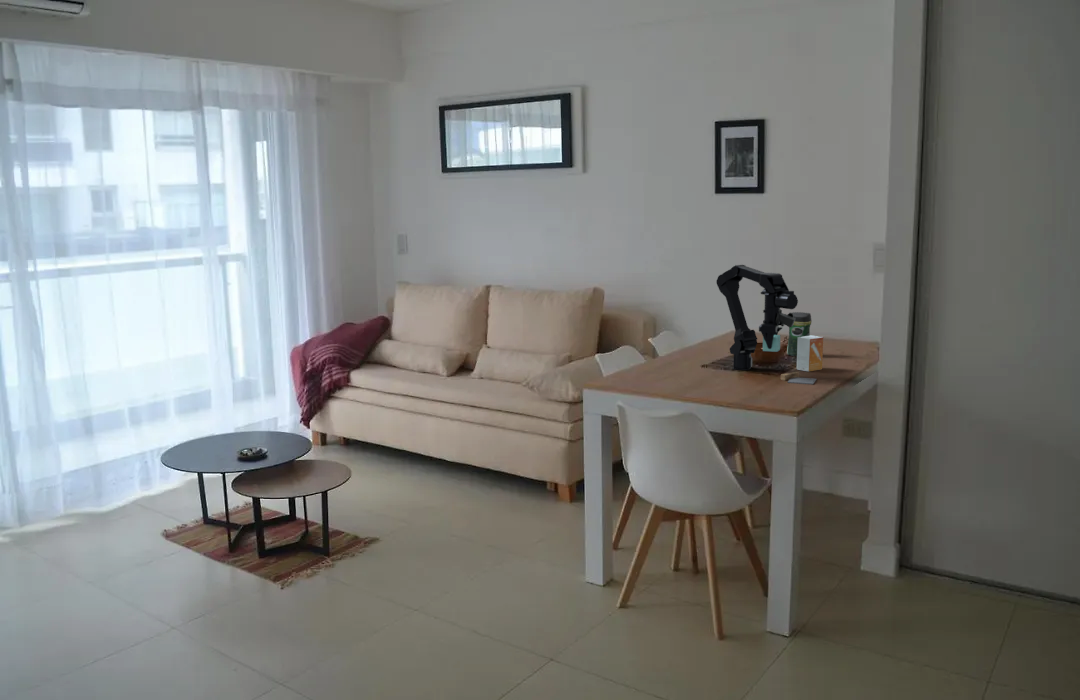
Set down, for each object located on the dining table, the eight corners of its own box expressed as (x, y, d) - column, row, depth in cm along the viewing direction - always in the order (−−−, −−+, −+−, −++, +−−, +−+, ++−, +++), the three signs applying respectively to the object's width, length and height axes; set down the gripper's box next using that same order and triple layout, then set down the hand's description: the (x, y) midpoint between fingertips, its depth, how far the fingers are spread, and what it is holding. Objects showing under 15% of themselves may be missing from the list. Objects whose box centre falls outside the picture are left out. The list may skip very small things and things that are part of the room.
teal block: (762, 350, 341) (762, 336, 340) (765, 348, 346) (765, 334, 345) (777, 351, 339) (777, 337, 338) (780, 349, 344) (780, 335, 343)
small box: (808, 372, 349) (809, 338, 347) (796, 369, 354) (797, 337, 352) (822, 369, 353) (823, 336, 351) (809, 367, 358) (810, 334, 356)
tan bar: (784, 380, 334) (784, 375, 334) (780, 379, 336) (780, 374, 335) (798, 377, 338) (799, 372, 338) (794, 377, 340) (794, 371, 340)
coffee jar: (812, 354, 385) (813, 311, 382) (807, 357, 378) (809, 314, 375) (789, 353, 390) (791, 310, 387) (784, 356, 383) (786, 313, 380)
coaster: (787, 382, 330) (787, 381, 330) (791, 378, 338) (791, 377, 338) (812, 384, 326) (812, 383, 326) (816, 379, 334) (816, 378, 334)
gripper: (789, 310, 328) (788, 352, 331) (798, 304, 345) (797, 344, 347) (758, 309, 333) (758, 351, 335) (768, 303, 349) (768, 343, 352)
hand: (771, 347), depth 342 cm, fingers closed on teal block, 5 cm apart
